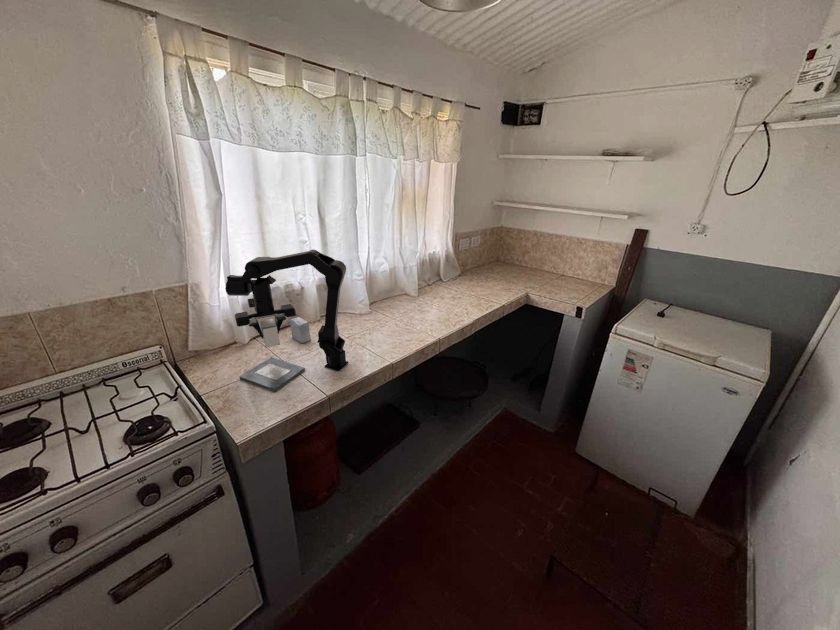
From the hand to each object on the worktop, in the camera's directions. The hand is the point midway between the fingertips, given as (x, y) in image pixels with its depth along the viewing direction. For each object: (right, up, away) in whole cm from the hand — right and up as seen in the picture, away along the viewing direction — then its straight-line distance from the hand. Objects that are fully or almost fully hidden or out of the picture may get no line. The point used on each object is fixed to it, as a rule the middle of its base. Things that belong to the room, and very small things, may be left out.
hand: (270, 336), depth 116 cm
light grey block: (0, -2, +1) cm, 2 cm away
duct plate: (+2, -13, -1) cm, 14 cm away
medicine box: (+3, -3, +24) cm, 24 cm away
